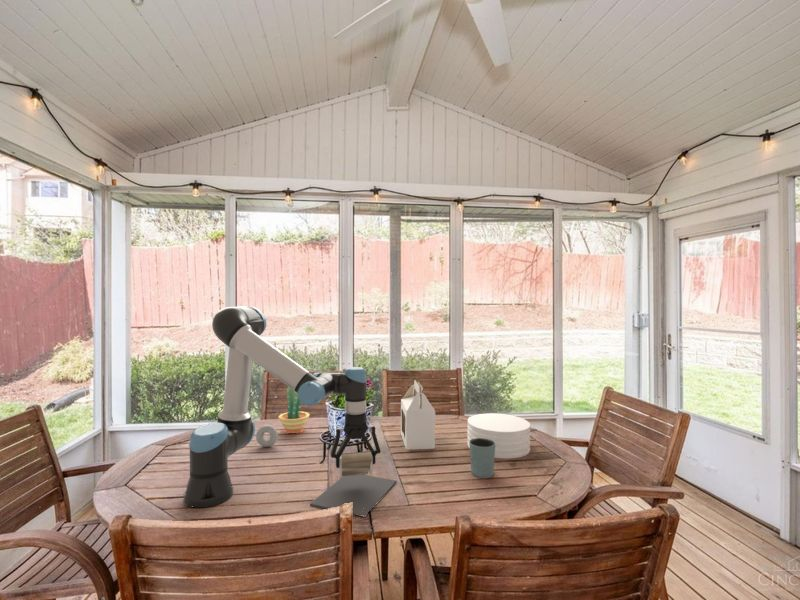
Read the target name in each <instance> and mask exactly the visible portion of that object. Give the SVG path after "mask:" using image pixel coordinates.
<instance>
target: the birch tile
mask: <svg viewBox="0 0 800 600" xmlns="http://www.w3.org/2000/svg"><path fill="white" fill-rule="evenodd" d="M341 458H342V477H343V476H352V475H362V474H363V475H369V473H370V472H369V469H370V465H371V461H372V455H371V451H370V450H368V451H359V452H358V451H357V452H345V453H344V452H343V453H342V455H341Z"/></svg>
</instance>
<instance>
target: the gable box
mask: <svg viewBox="0 0 800 600" xmlns="http://www.w3.org/2000/svg"><path fill="white" fill-rule="evenodd" d="M424 389H425V388H424V387H423V385H422V384H421V383H420V382H419V381H417V380H416V379H414V382H413V384H412V385H410V386H409V387H408V389H407V390H406V393H405V394H404V395H403V396H402V398H401V399H400V434H401V438H402V441H403V444H404V447H405V450H407V451H412V450H435V449H436V410H435V408H434V407H433V406H432V405H433V404H431V403H430V401H429V400H428V398H427V396H426V394H424V393H423V391H424Z"/></svg>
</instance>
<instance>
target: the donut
mask: <svg viewBox="0 0 800 600" xmlns="http://www.w3.org/2000/svg"><path fill="white" fill-rule="evenodd" d="M266 433H268V434H269V436H270V437H269V438H268V439H267V438H265V436H264V435H265V434H266ZM278 438H279V434H278V429H277V428H275V427H274V426H273V425H271V424H264V425H262V426H260V427H259V428H258V429H257V431H256V432H255V440H256V442H257V443H258V445H260V446H262V447H263V448H264V447H265V448H270V447H272V446H274V445H275V444H276V443H277V441H278Z"/></svg>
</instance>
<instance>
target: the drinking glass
mask: <svg viewBox="0 0 800 600" xmlns="http://www.w3.org/2000/svg"><path fill="white" fill-rule="evenodd" d="M469 445H470V448H469V455H470V472H471V474H472V475H473V476H475V477H477V478H480V479H481V478H482V479H486V478H487V479H489V478H491V477H493V476H494V473H495V458H494V454H495V445H496V443H495V442H494V441H492V440H490V439H484V438H475V439H472V440H470V441H469Z"/></svg>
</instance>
